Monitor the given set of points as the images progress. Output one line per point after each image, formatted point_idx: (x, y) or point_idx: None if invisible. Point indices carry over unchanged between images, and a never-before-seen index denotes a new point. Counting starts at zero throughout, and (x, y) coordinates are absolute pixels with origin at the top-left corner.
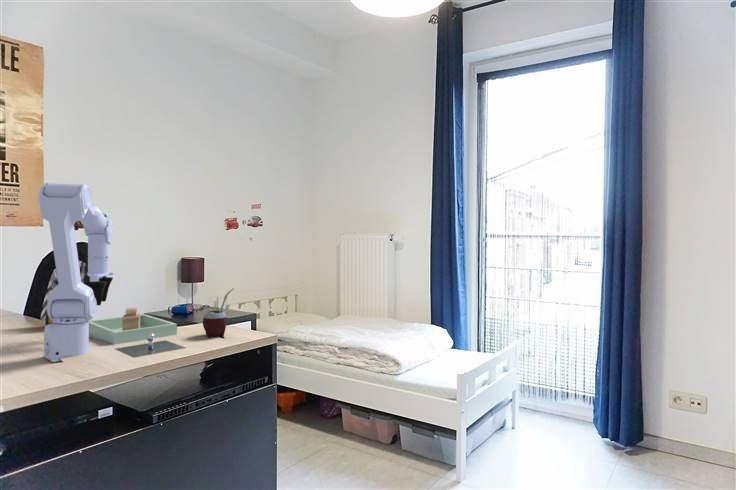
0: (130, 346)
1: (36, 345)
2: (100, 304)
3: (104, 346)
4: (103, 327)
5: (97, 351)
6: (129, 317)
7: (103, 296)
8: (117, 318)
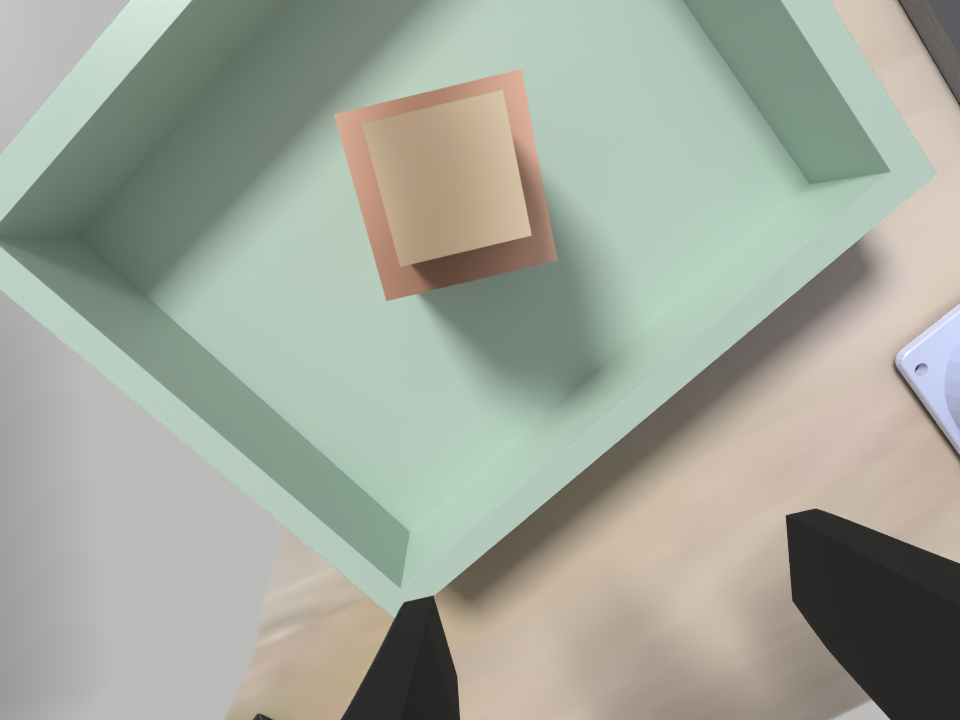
0: (956, 21)
1: (704, 665)
2: (807, 515)
3: None
4: (680, 370)
5: (932, 257)
6: (541, 181)
7: (433, 681)
8: (218, 430)
